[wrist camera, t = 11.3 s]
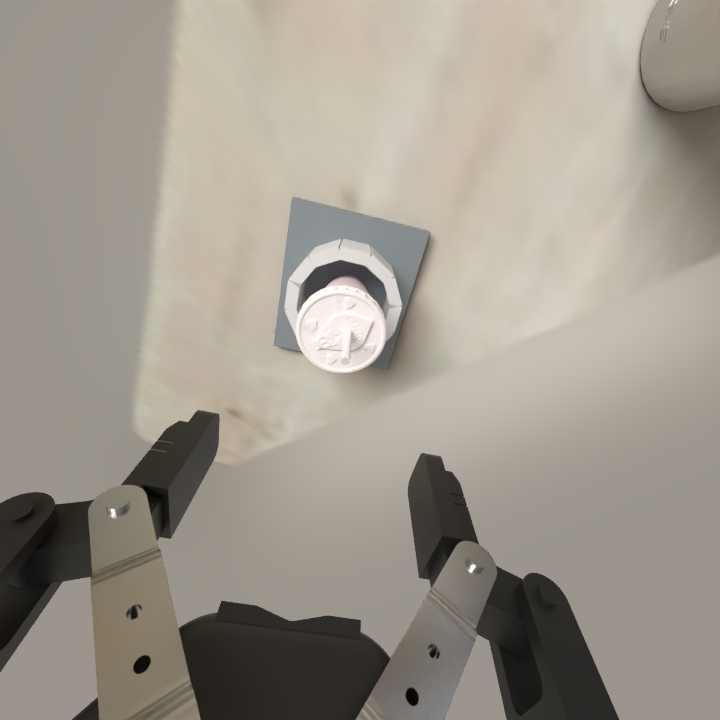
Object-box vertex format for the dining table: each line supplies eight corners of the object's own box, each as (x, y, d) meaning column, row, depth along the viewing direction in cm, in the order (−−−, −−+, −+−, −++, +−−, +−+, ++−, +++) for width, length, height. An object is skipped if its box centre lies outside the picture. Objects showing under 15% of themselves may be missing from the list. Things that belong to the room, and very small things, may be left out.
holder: (428, 230, 30) (438, 239, 26) (386, 364, 36) (389, 390, 32) (294, 197, 29) (281, 199, 24) (276, 341, 35) (263, 364, 31)
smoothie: (391, 310, 33) (408, 389, 20) (331, 334, 34) (313, 423, 21) (364, 247, 30) (365, 293, 17) (300, 276, 31) (259, 338, 19)
